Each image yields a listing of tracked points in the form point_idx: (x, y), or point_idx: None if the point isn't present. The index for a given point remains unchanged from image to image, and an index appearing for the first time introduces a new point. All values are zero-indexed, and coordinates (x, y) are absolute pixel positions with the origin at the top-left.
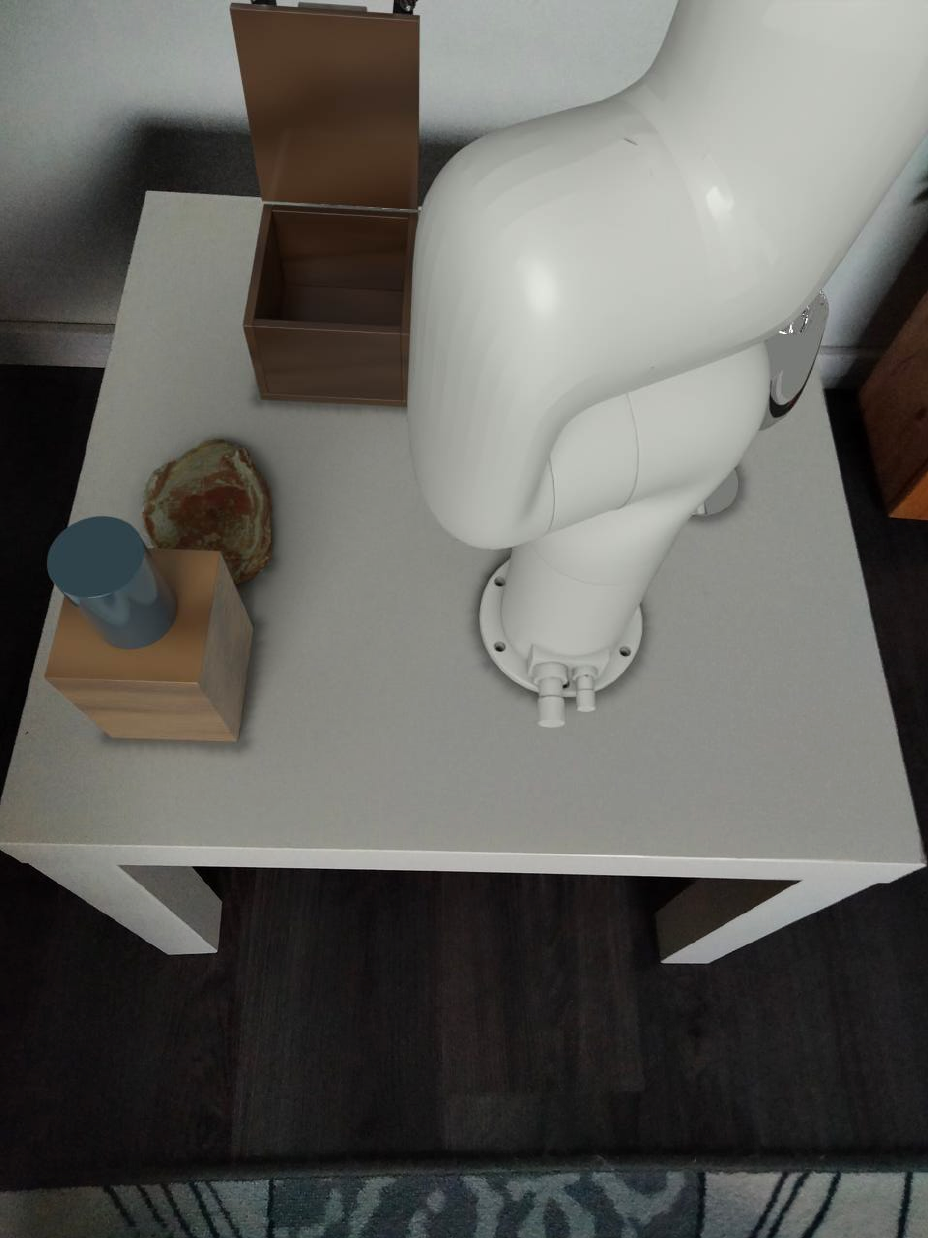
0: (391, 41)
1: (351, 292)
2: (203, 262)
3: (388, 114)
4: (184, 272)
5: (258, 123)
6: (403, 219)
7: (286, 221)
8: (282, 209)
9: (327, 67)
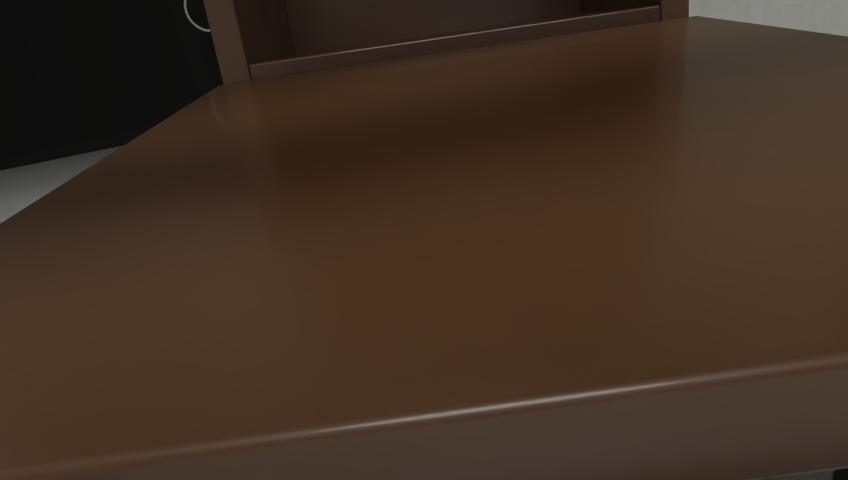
0: (9, 339)
1: (425, 21)
2: None
3: (228, 148)
4: (805, 23)
5: (830, 47)
6: (264, 62)
7: (609, 11)
8: (629, 15)
9: (566, 171)
